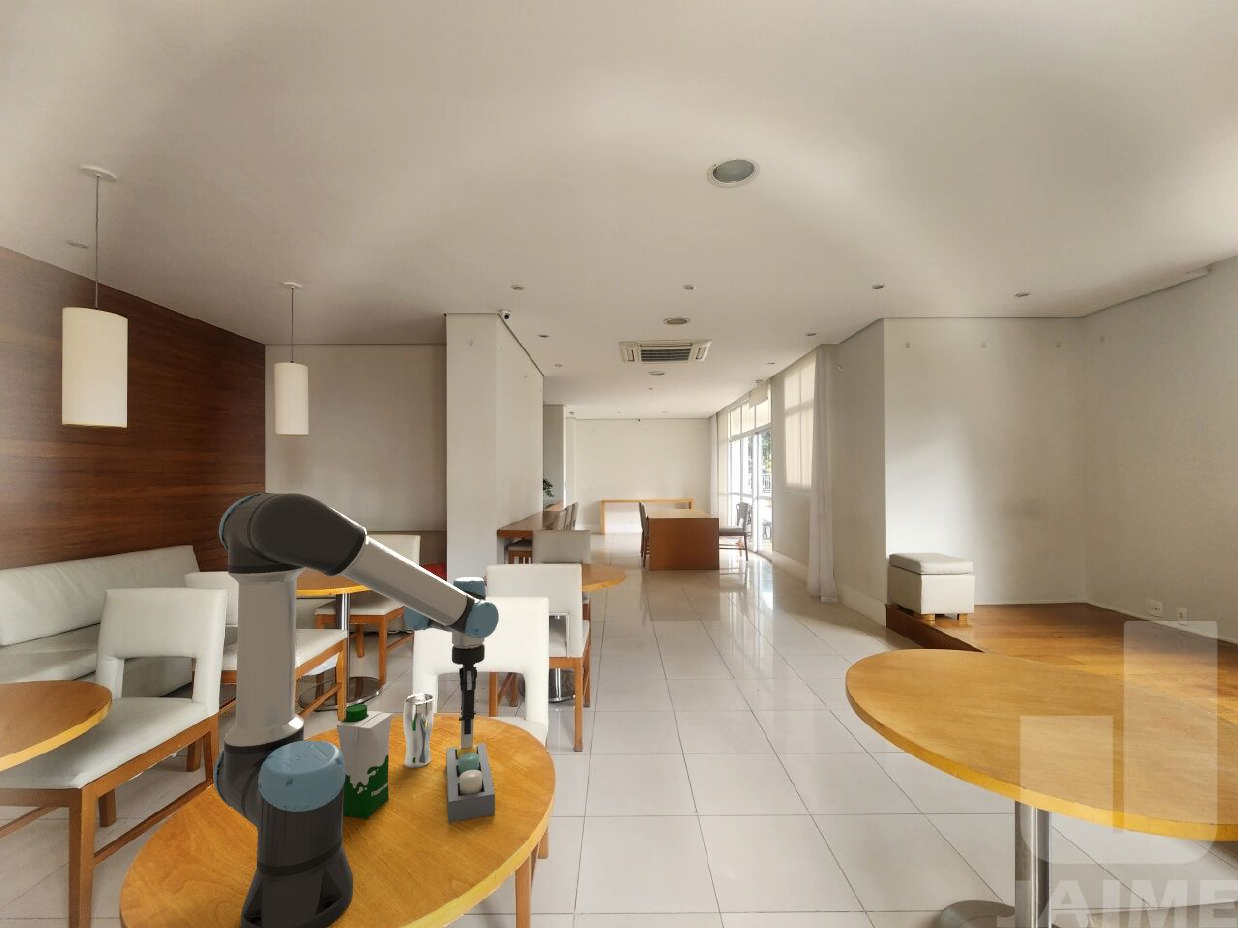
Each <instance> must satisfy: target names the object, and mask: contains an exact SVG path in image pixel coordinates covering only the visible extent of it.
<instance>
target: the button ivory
mask: <svg viewBox="0 0 1238 928" xmlns="http://www.w3.org/2000/svg"><path fill="white" fill-rule="evenodd" d="M481 791H482V772H481V771H479V770H468V771H465V772H463V773H462V774H461V775H460V795H461V796H464V795H470V794H476V793H481Z"/></svg>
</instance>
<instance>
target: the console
mask: <svg viewBox="0 0 1238 928" xmlns="http://www.w3.org/2000/svg"><path fill="white" fill-rule="evenodd" d="M474 744H475V745H476V746H477V754H478V755H479V771H481V772H482V791H481V793H476V794H470V795H464V796H461V795H460V776H459V775H458V763H459V759H457V748H458V747H459V746H453V747H446V748H445V750H446V751H445V753H446V754H445V755H446V756H445V757H446V758H445V761H446V762H445V767H446V772H445V773H446V797H447V799H446V800H447V824H449V823H454V822H460V821H464V820H465V821H466V820H471V819H476V818H477V819H478V818H483V817H487V816H488V817H489V816H492V815H495V814H496V792H495V788H494V781H493V776H492V772H491V767H490V762H489V756H488V751H487V746H486V745H487V744H486V742H481V743H474Z"/></svg>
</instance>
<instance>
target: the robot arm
mask: <svg viewBox="0 0 1238 928" xmlns="http://www.w3.org/2000/svg"><path fill="white" fill-rule="evenodd" d="M218 534H219V535H218V536H219V539H220V542H221V544H222V545H223V547H224V549H225V550H226V551H227V552H228V554H227V558H228V559H227V575H229V576H230V577H231V578H232V579H234V580H235V581H236V582H237V583H238V594H237V595H238V597H237V599H238V602H237V638H236V639H237V645H236V648H237V649H236V650H237V651H236V690H235V692H236V693H235V724H234V725H233V727H232V728H230V729H229V730H228V731H227V733H226V734H225V735H224V739H223V740H224V741H223V743H224V744H223V746H224V747H223V750H222V751H220V753H219V755H218V757H217V758H216V761H215V763H214V764H215V765H214V767H213V774H212V777H213V779H212V780H213V784H214V787H215V790H216V792H217V794H218V796H219V797H220V799H221V801H223V802H224V803H225V804H226V805H227V806H228V807H231V808H232V809H233V810H235V811H236V812H238V813H239V814H240V815H241V816H243V818H245V819H246V820H247V821H249V822H250V823H251V824H253V826H254V827H256V831H257V847H256V848H257V850H256V868H255V873H254V875H253V878H252V881H251V882H250V885H249V888H248V892H247V894H246V896H245V900H244V903H243V905H242V909H241V912H240V928H327V927H329V926H331V925H332V924H333V923H335V921H337V920H338V919H339V918H340V917H341V916H342V915H343V914H344V913H345V912H346V911H347V908H348V907H349V906H350V903H351V902H352V899H353V894H354V875H353V872H352V869H351V866H350V864H349V863H350V862H349V860H348V858H347V855H346V852H345V849H344V846H343V829H344V816H343V804H344V782H345V767H344V758H343V754H342V752H341V750H340V747H338V746H337V745H335V744H334V743H332V742H329V741H326V740H321V739H320V740H318V741H315V740H314V739H307V740H305V720H304V718H303V717H301V716H300V715H299V714H297V713H296V712H295V700H296V699H295V697H296V695H295V694H296V693H295V691H296V690H295V689H296V686H295V685H296V647H297V646H296V644H297V643H296V642H297V641H296V640H297V637H296V636H297V633H296V632H297V588H298V587H297V584H298V581H297V579H298V577H299V576H300V575H301V574H302V573H303V572H304V571H305V570H306V569H310V570H314V571H317V572H320V573H322V574H323V575H326V576H327V577H329V578H330V577H331V578H334V577H337V576H342V577H345V578H347V579H348V580H350V581H352V582H355V583H356V584H359V585H361V586H363V587H365V588H367V589H369V590H371V591H373V592H374V593H378V594H379V595H382V597H385V598H387V599H388V600H389V599H390V600H391V601H394V602H396V603H398V604H399V605H402V606H403V607H404V608H403V619H404V621H405V624H406V626H407V628H408V629H410V630H411V631H414V632H418V631H426V630H430V629H436V630H440V631H444V632H448V633H451V644H452V647H451V662H452V663H453V664H455V665H462V666H461V667H459V669H458V674H459V685H460V691H461V695H460V696H461V700H460V701H461V702H460V704H461V706H460V711H461V713H460V715H461V716H458V722H460V745H461V748H468V747H473V744H474V719H475V715H476V714H477V713H476V710H475V693H476V692H475V691H476V688H477V678H478V670H477V666H475V665H476V664H479V663H482V662H483V661H484V660H485V656H486V655H485V652H486V651H485V650H486V649H485V648H486V647H485V646H486V645H485V644H484V642H485V639H486V638H488V637H490V636H491V635H492V634H493V633H494V632H495V630H496V628H497V627H498V624H499V619H500V618H499V617H500V615H499V610H498V608H497V606H496V604H494V603H492V602H490V601H487V599H486V598H487V594H486V593H487V591H486V582H485V579H483V578H481V577H477V576H475V577H474V576H468V577H465V576H463V577H459V578H456V579H454V580H453V584H451V583H449V582H447V581H445V580H444V579H442V578H440V577H439V576H437V575H435V574H433V573H432V572H430V571H428V570H426V569H425V568H423V567H421V566H420V565H418V564H416V563H414V562H412V561H411V560H409V559H407V558H406V557H404V556H402V555H400V554H398V553H397V552H395V551H393V550H392V549H390V548H388V547H386V546H384V545H383V544H381V543H379V542H378V541H376V540H374V539H373V538H371V537H370V536H368V534H367V530H366V528H365V527H364V526H363V525H361V524H359V523H357V522H356V521H354V520H352V519H351V518H349V517H347V516H346V515H344V514H342V513H341V512H339V511H338V510H336V509H334V508H332V507H331V506H329V505H327V504H326V503H324V502H322V501H321V500H319V499H316V498H315V497H312V496H310V495H307V494H302V493H295V492H291V493H272V492H262V493H255V494H252V495H249V496H248V495H247V496H245V497H243V498H241V499H239V500H237V501H235V502H233V504H231V505H230V506H229V507H228V508H227V510H226V511H225V512H224V513H223V515H222V517H221V518H220V523H219V526H218Z"/></svg>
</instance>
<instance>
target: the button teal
mask: <svg viewBox="0 0 1238 928" xmlns="http://www.w3.org/2000/svg"><path fill="white" fill-rule="evenodd" d="M468 770H479V755H478V754H476V753H466V754H463V755H461V756H460V757H459V763H458V775H459V776H460V775H461V774H462V773H463V772H465V771H468Z"/></svg>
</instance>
